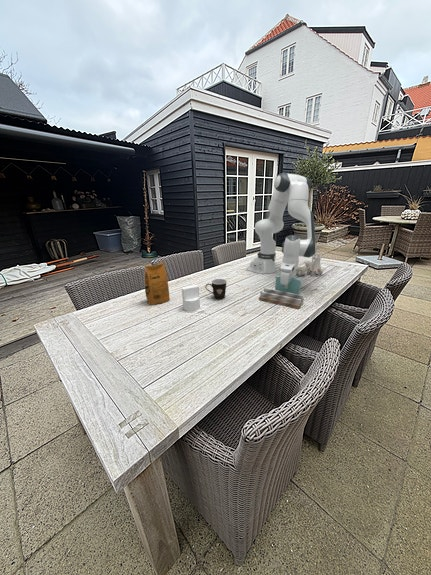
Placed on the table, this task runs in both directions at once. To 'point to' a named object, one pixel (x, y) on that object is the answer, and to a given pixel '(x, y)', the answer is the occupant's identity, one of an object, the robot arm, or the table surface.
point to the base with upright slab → (191, 298)
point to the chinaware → (311, 267)
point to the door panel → (293, 285)
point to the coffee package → (156, 284)
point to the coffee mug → (218, 288)
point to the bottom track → (281, 298)
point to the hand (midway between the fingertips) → (287, 287)
